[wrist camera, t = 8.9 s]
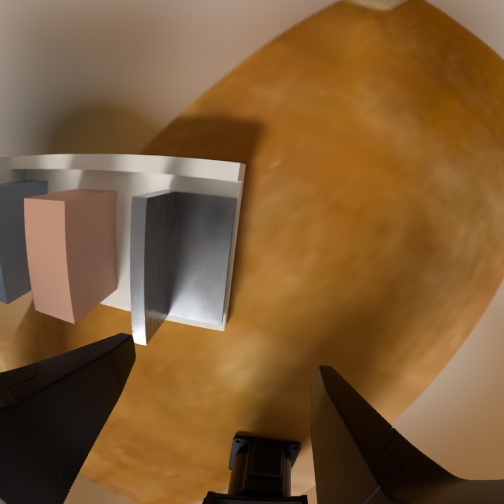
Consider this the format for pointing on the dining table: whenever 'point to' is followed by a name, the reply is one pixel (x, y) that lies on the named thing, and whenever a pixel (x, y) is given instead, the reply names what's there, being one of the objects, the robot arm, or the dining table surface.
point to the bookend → (178, 258)
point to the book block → (71, 250)
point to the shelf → (127, 185)
